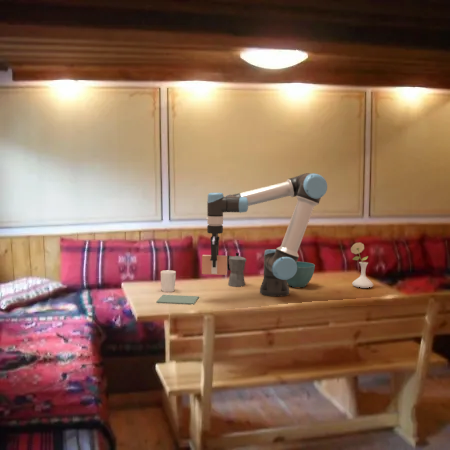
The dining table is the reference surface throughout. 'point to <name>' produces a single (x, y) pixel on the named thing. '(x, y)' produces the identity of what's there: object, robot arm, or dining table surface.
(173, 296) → the mat
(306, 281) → the teal bowl
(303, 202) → the robot arm
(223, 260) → the plaque
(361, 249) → the flower in vase
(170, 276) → the white cup
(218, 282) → the dining table surface
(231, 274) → the coffeepot
